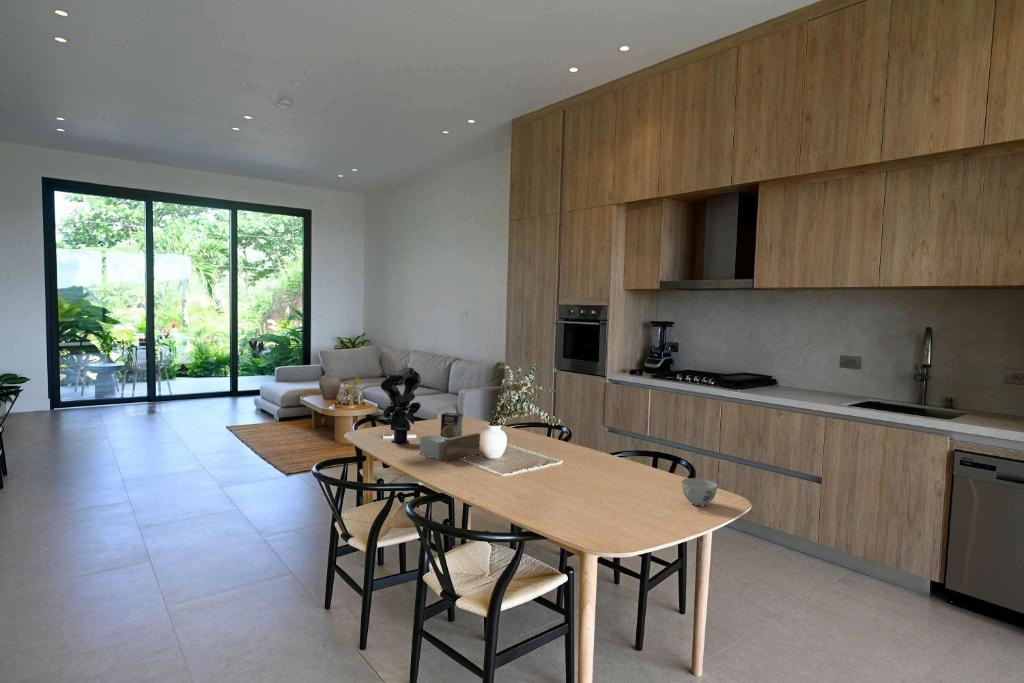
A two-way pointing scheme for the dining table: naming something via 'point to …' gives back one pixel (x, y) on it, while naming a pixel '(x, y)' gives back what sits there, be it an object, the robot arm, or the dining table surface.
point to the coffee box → (451, 425)
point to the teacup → (699, 490)
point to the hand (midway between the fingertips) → (410, 424)
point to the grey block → (432, 446)
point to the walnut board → (461, 447)
